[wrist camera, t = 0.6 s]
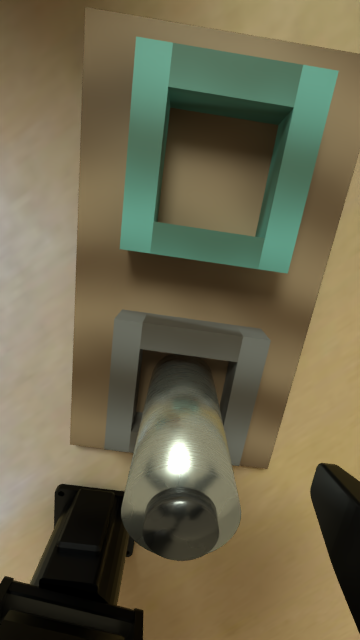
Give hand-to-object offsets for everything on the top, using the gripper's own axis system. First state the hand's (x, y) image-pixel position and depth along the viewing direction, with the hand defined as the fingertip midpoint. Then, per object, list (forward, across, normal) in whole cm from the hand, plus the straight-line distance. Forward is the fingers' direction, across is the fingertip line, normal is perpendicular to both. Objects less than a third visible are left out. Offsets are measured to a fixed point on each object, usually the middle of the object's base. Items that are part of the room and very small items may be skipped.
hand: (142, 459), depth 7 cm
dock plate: (+11, -2, -3) cm, 12 cm away
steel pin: (+10, -1, +3) cm, 11 cm away
